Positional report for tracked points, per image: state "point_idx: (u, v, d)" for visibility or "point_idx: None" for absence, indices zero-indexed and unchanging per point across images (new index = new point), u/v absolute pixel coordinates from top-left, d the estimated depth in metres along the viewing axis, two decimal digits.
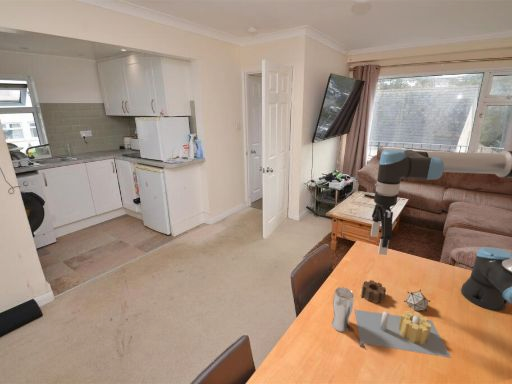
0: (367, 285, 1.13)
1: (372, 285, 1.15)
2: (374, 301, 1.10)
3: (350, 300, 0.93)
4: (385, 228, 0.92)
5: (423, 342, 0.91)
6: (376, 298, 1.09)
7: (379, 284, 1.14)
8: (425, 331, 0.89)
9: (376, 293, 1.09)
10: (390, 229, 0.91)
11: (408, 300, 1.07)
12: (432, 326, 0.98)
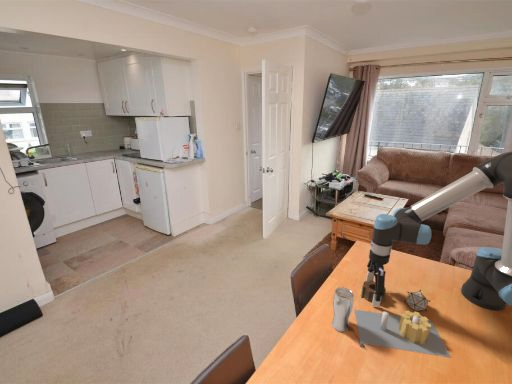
0: (367, 285, 1.13)
1: (372, 285, 1.15)
2: None
3: (350, 300, 0.93)
4: (378, 285, 1.02)
5: (423, 342, 0.91)
6: None
7: None
8: (425, 331, 0.89)
9: None
10: (383, 286, 1.02)
11: (408, 300, 1.07)
12: (432, 326, 0.98)
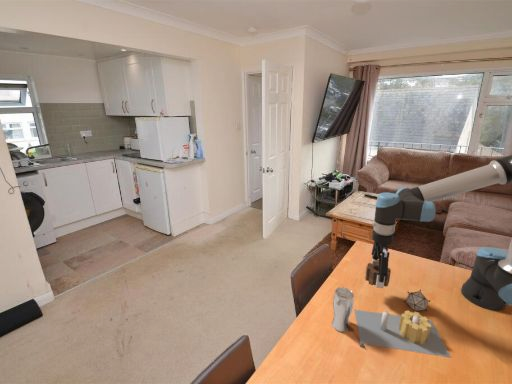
0: (371, 266, 1.10)
1: (376, 267, 1.11)
2: None
3: (350, 300, 0.93)
4: (382, 266, 1.01)
5: (423, 342, 0.91)
6: None
7: None
8: (425, 331, 0.89)
9: None
10: (386, 267, 1.01)
11: (408, 300, 1.07)
12: (432, 326, 0.98)
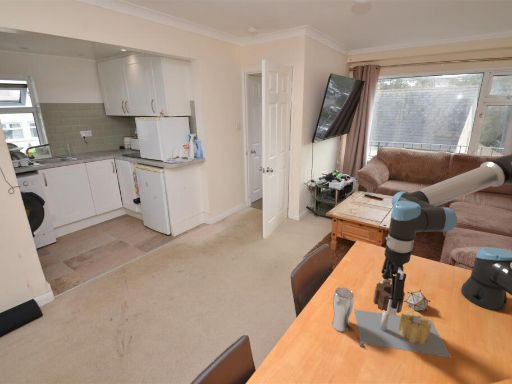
0: (381, 288, 0.93)
1: (387, 288, 0.94)
2: None
3: (350, 300, 0.93)
4: (396, 290, 0.83)
5: (423, 342, 0.91)
6: None
7: None
8: (425, 331, 0.89)
9: None
10: (401, 292, 0.83)
11: (408, 300, 1.07)
12: (432, 326, 0.98)
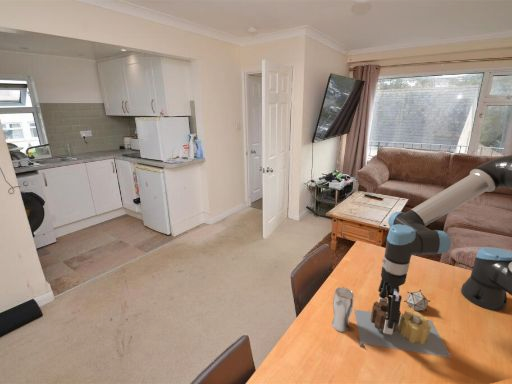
0: (378, 307, 0.95)
1: (384, 307, 0.96)
2: None
3: (350, 300, 0.93)
4: (392, 312, 0.86)
5: (423, 342, 0.91)
6: None
7: None
8: (425, 331, 0.89)
9: None
10: (397, 313, 0.86)
11: (408, 300, 1.07)
12: (432, 326, 0.98)
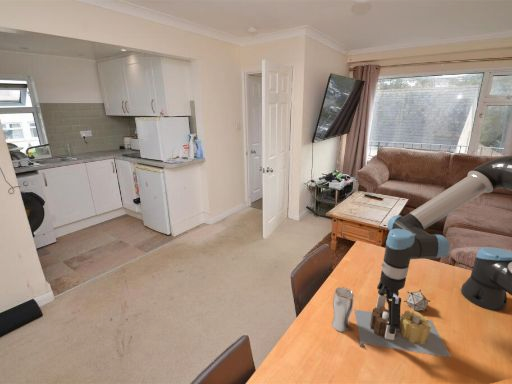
0: (377, 313, 0.96)
1: None
2: None
3: (350, 300, 0.93)
4: (393, 315, 0.85)
5: (423, 342, 0.91)
6: None
7: None
8: (425, 331, 0.89)
9: None
10: (398, 317, 0.85)
11: (408, 300, 1.07)
12: (432, 326, 0.98)
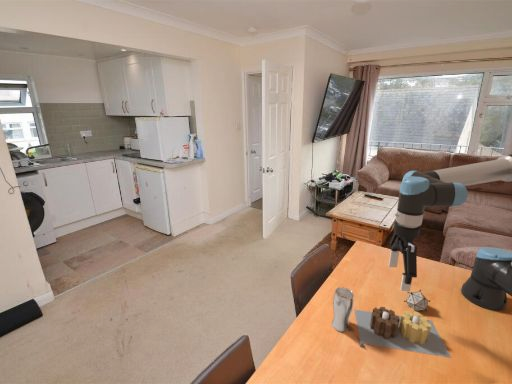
0: (377, 313, 0.96)
1: None
2: (386, 333, 0.92)
3: (350, 300, 0.93)
4: (409, 264, 0.83)
5: (423, 342, 0.91)
6: (388, 330, 0.92)
7: (391, 312, 0.97)
8: (425, 331, 0.89)
9: (388, 324, 0.92)
10: (414, 265, 0.82)
11: (408, 300, 1.07)
12: (432, 326, 0.98)
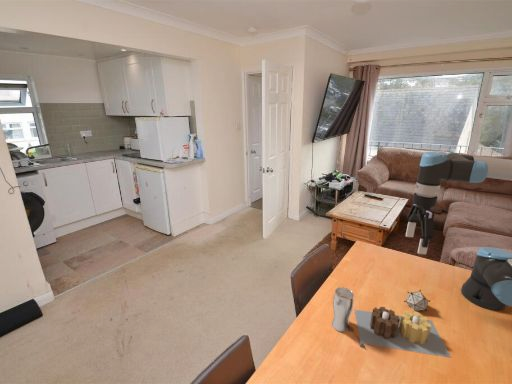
0: (377, 313, 0.96)
1: None
2: (386, 333, 0.92)
3: (350, 300, 0.93)
4: (426, 228, 0.94)
5: (423, 342, 0.91)
6: (388, 330, 0.92)
7: (391, 312, 0.97)
8: (425, 331, 0.89)
9: (388, 324, 0.92)
10: (431, 229, 0.94)
11: (408, 300, 1.07)
12: (432, 326, 0.98)
